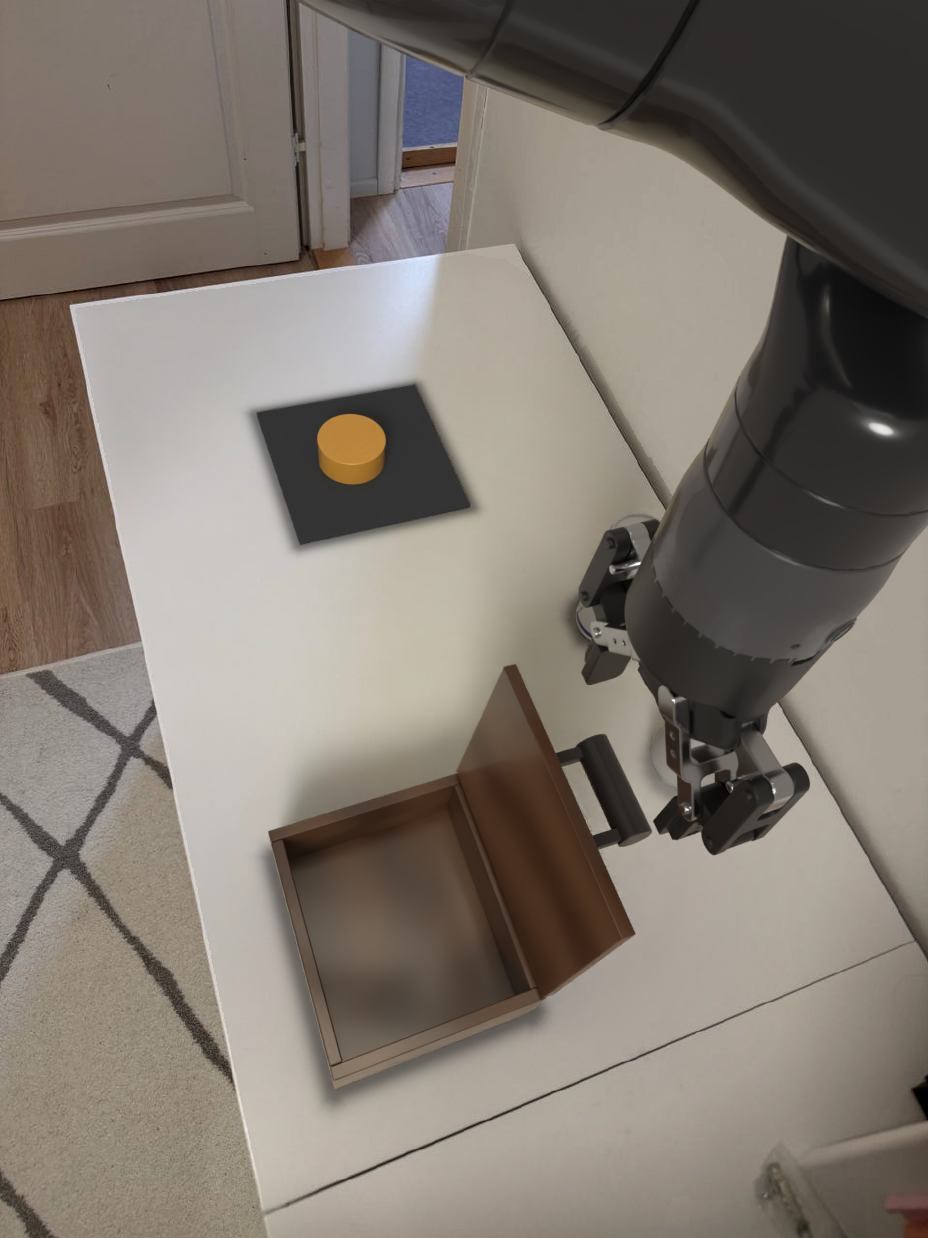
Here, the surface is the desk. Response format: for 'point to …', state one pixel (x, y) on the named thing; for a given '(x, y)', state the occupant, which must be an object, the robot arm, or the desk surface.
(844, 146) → the robot arm
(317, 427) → the mat
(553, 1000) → the desk surface
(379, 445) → the golden round puck
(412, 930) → the wooden box
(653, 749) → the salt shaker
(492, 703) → the lid
